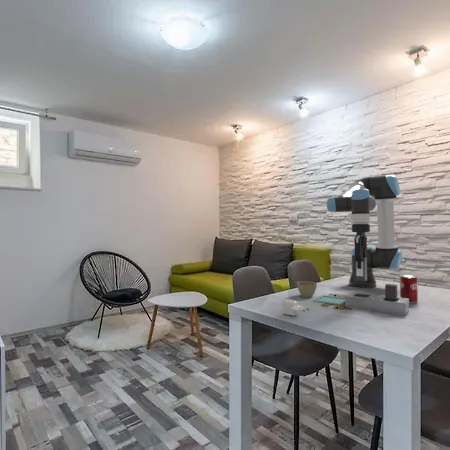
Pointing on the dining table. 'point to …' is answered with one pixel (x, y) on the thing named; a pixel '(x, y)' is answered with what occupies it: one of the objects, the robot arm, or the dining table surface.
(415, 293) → the soda can
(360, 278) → the plug
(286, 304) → the white lumpy piece
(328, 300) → the tray
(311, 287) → the flower pot
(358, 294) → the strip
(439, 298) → the dining table surface
